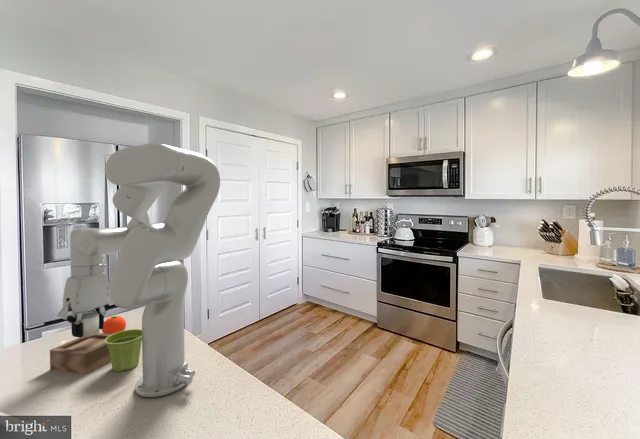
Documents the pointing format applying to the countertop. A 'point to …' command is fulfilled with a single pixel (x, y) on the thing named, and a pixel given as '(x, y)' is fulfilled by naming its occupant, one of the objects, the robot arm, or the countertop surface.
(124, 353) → the plant pot
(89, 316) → the white rounded cylinder
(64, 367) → the tray
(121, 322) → the clementine
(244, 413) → the countertop surface
